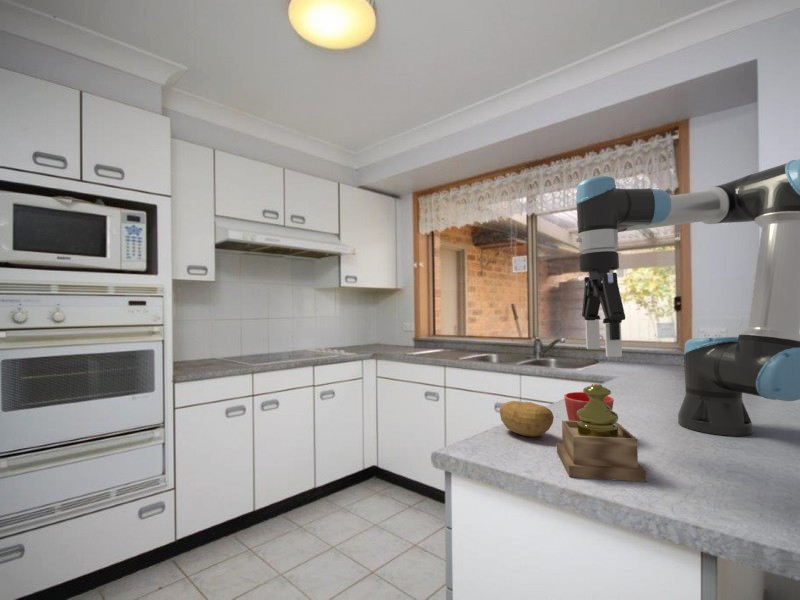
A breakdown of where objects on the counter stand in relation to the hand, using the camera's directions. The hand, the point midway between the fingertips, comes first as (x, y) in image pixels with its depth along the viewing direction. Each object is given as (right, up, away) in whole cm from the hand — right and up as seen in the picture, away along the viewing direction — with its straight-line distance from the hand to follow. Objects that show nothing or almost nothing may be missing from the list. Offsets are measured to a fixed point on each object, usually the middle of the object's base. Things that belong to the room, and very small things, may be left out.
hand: (602, 352), depth 87 cm
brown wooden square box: (-4, -22, -6) cm, 23 cm away
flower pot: (+3, -22, +13) cm, 26 cm away
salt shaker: (-4, -16, -5) cm, 17 cm away
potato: (-12, -22, +15) cm, 29 cm away
